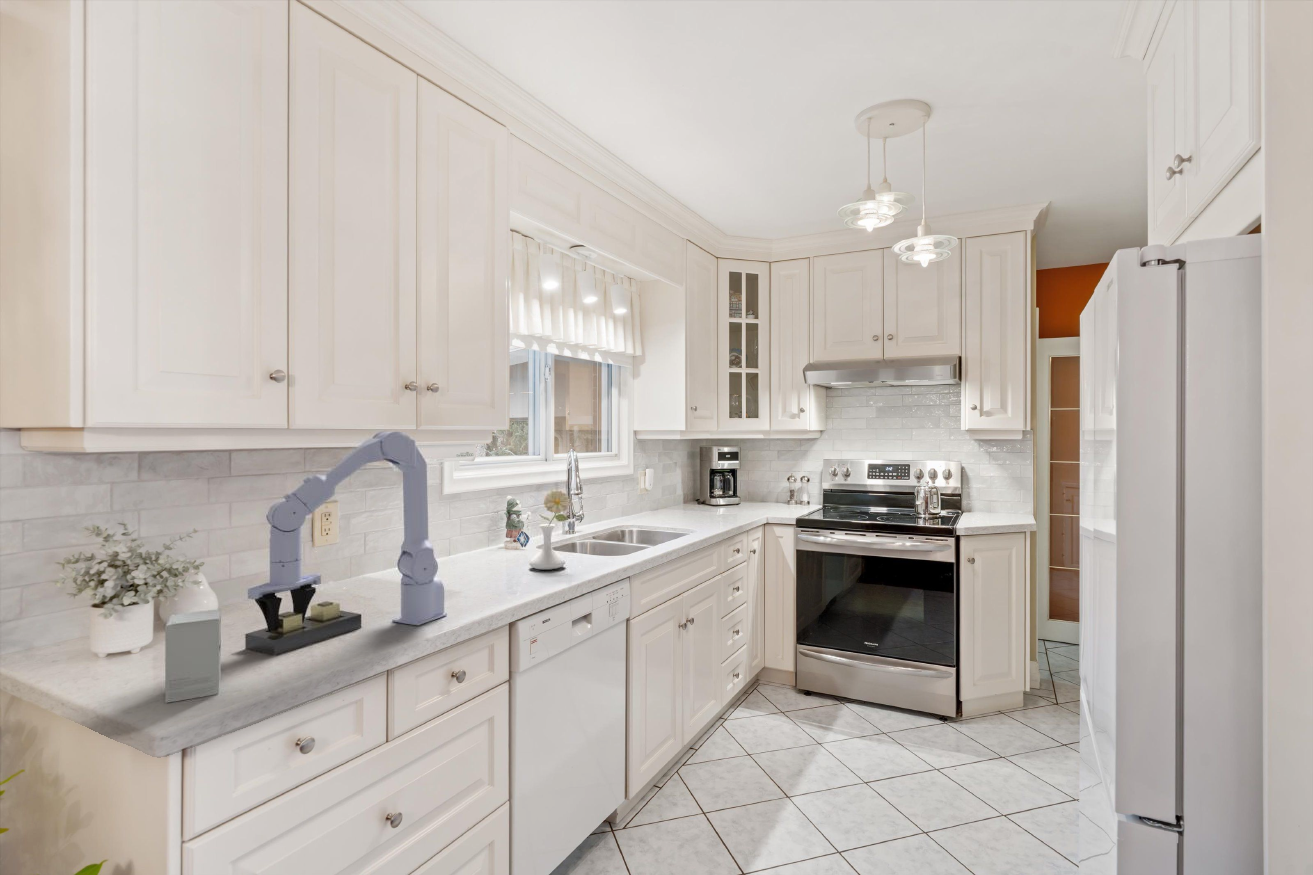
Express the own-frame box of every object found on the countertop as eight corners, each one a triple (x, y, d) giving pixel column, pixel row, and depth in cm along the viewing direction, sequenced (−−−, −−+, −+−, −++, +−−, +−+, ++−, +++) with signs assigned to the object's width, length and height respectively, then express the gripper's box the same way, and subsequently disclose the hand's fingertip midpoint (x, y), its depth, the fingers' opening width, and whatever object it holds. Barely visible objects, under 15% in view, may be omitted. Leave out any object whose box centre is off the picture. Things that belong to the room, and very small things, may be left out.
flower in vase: (524, 571, 202) (524, 491, 201) (535, 564, 213) (535, 488, 213) (565, 572, 200) (565, 491, 200) (574, 565, 211) (574, 488, 211)
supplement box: (219, 694, 107) (219, 618, 107) (163, 704, 104) (163, 625, 103) (222, 679, 114) (221, 607, 114) (169, 688, 110) (169, 613, 110)
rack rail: (333, 622, 148) (333, 609, 148) (361, 627, 144) (361, 614, 144) (245, 648, 130) (245, 633, 130) (274, 655, 126) (274, 640, 126)
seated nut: (327, 628, 144) (327, 599, 144) (339, 630, 142) (339, 601, 142) (310, 633, 140) (310, 604, 140) (323, 635, 138) (323, 606, 138)
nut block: (289, 639, 136) (289, 609, 135) (302, 642, 134) (302, 612, 134) (271, 645, 132) (270, 614, 132) (283, 648, 130) (283, 617, 130)
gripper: (305, 552, 141) (305, 614, 141) (237, 564, 128) (238, 633, 128) (327, 555, 138) (327, 618, 138) (260, 568, 125) (260, 638, 125)
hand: (286, 626), depth 133 cm, fingers open, 5 cm apart
